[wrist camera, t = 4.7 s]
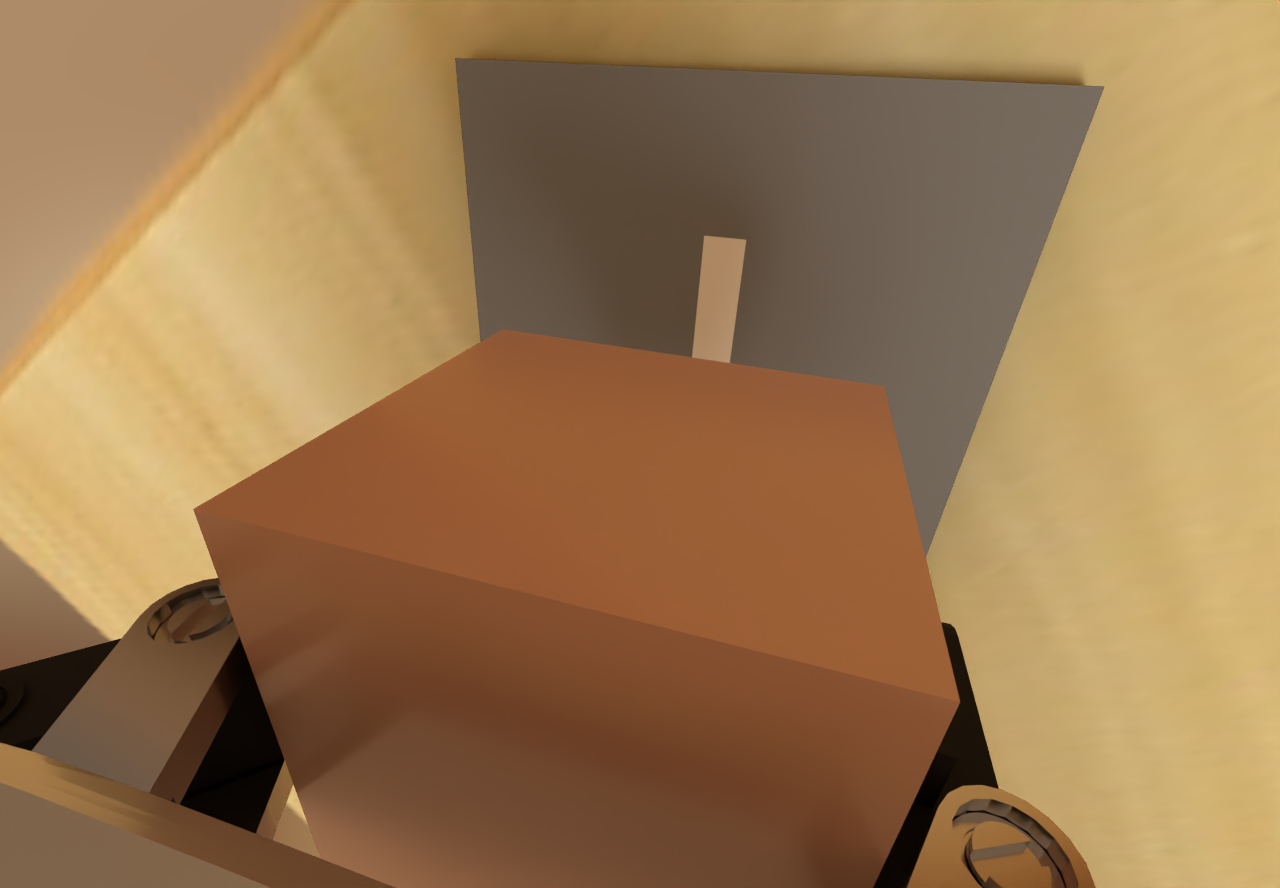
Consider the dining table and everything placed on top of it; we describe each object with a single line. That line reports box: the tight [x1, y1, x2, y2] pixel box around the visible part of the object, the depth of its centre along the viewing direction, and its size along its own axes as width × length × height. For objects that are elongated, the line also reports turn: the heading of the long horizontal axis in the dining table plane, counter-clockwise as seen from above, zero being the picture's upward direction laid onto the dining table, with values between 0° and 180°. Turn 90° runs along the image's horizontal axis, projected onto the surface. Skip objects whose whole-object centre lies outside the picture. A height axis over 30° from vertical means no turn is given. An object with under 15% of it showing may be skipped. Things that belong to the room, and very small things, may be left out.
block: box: [193, 329, 960, 888], centre depth 9 cm, size 6×6×6 cm
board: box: [455, 58, 1104, 557], centre depth 20 cm, size 16×20×1 cm
